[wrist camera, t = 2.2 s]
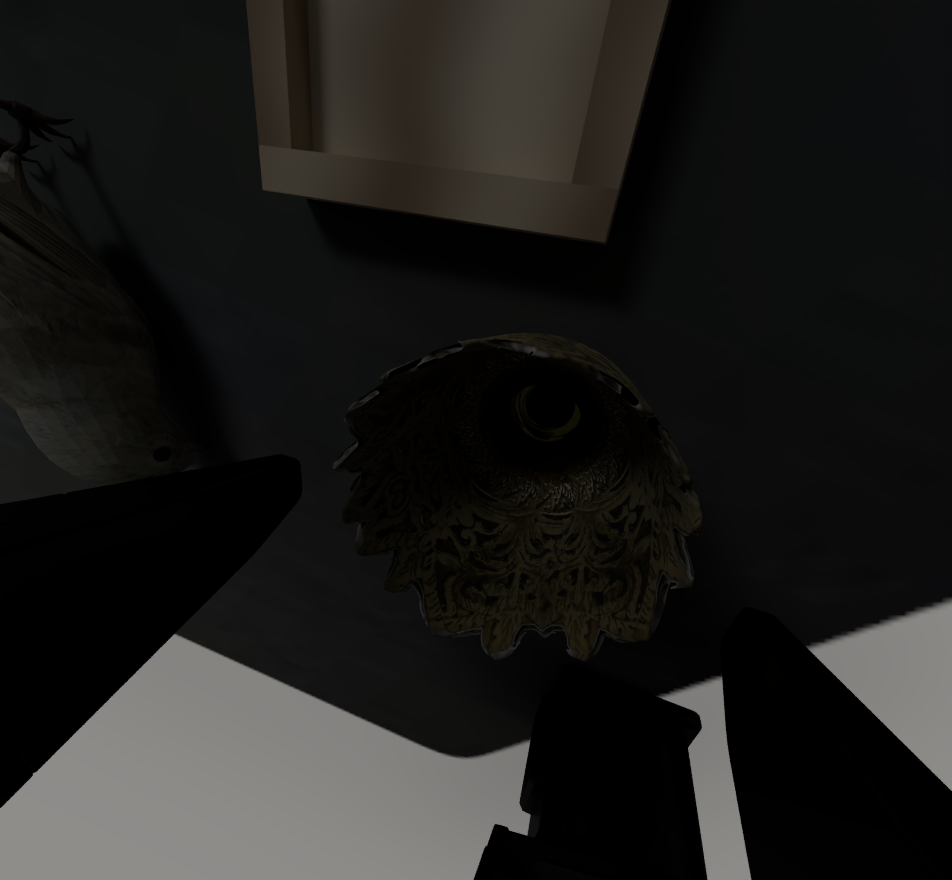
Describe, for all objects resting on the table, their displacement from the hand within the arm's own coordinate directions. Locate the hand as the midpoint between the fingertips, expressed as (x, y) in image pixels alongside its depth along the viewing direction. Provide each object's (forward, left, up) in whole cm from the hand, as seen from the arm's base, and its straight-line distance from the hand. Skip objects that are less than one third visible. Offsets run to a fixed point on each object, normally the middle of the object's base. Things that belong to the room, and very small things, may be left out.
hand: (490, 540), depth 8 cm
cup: (0, 0, -8) cm, 8 cm away
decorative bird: (+21, 0, -9) cm, 23 cm away
